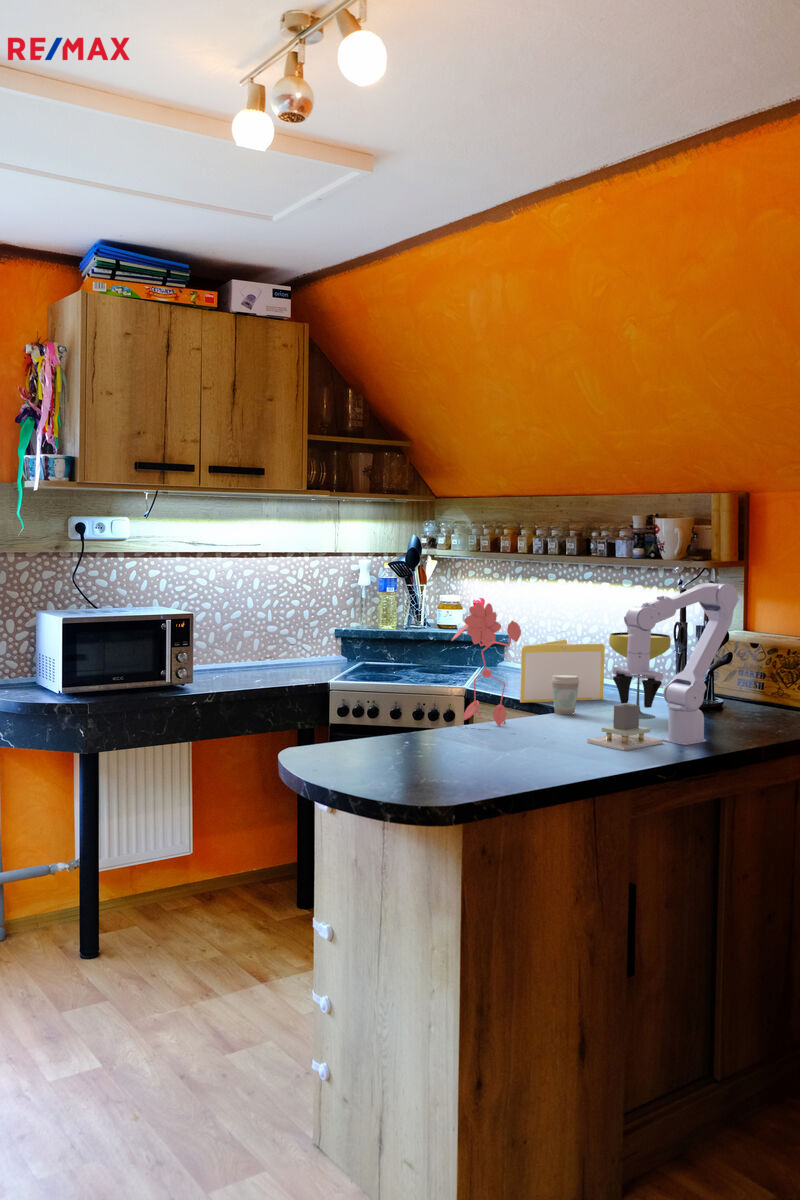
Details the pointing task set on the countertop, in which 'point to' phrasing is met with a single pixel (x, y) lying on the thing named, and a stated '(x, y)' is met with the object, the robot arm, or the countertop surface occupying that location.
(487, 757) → the countertop surface
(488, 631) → the figurine
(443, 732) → the countertop surface
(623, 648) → the cocktail glass
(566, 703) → the coffee cup
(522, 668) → the tabletop whiteboard
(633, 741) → the plate
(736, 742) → the countertop surface
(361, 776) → the countertop surface
